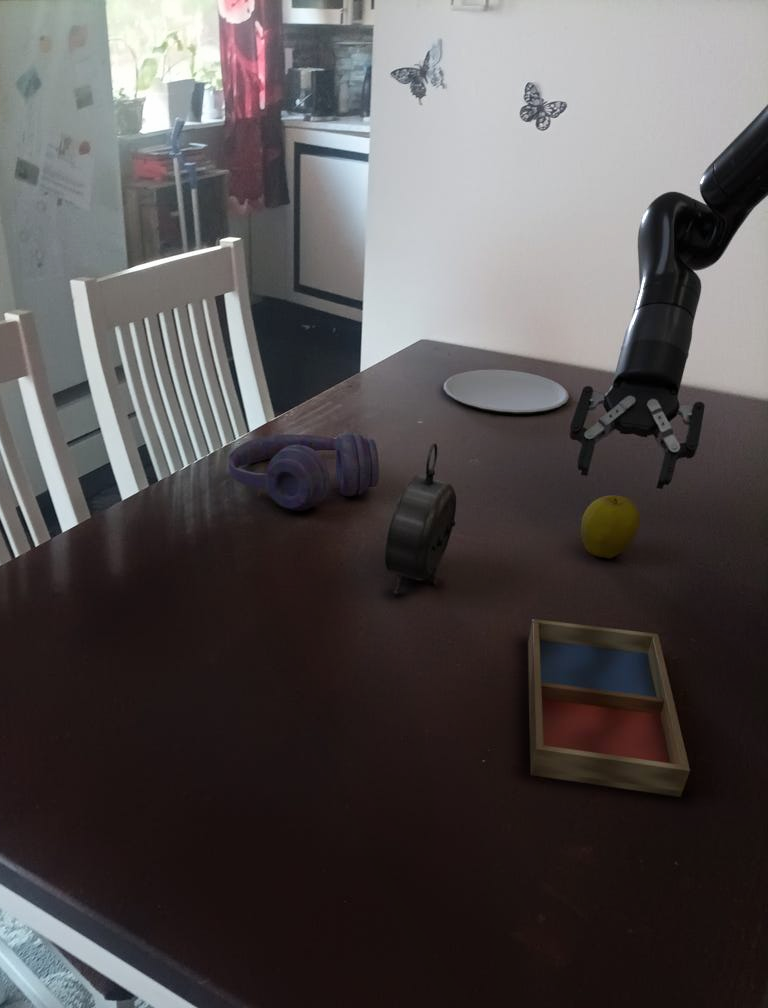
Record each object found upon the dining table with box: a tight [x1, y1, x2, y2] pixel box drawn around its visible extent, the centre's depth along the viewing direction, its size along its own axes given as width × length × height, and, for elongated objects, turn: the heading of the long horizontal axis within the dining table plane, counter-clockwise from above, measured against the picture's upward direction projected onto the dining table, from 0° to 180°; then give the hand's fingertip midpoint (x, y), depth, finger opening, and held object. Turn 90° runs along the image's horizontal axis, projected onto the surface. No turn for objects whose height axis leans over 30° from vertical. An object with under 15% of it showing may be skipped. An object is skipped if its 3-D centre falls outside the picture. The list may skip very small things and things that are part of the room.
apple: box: [580, 494, 641, 559], centre depth 105 cm, size 6×6×8 cm
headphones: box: [227, 432, 380, 512], centre depth 120 cm, size 18×8×20 cm
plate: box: [443, 369, 570, 415], centre depth 152 cm, size 21×21×1 cm
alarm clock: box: [384, 442, 457, 597], centre depth 97 cm, size 11×5×16 cm, turn 154°
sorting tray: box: [527, 618, 691, 798], centre depth 82 cm, size 12×20×3 cm, turn 168°
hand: (621, 479), depth 105 cm, fingers open, 8 cm apart
